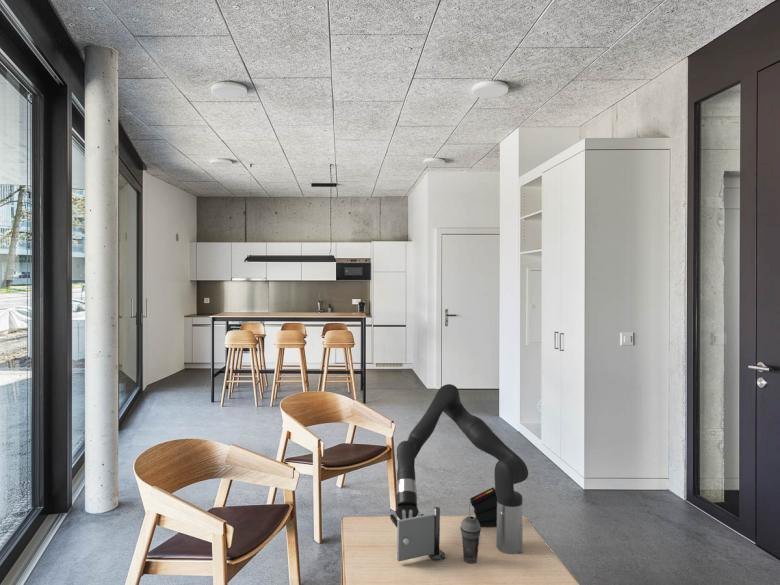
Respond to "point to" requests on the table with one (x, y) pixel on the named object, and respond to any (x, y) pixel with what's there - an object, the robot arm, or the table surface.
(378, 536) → the table surface
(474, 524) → the beverage cup
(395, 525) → the robot arm
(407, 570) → the table surface
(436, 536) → the hinge post
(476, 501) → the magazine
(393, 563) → the table surface
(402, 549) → the door
